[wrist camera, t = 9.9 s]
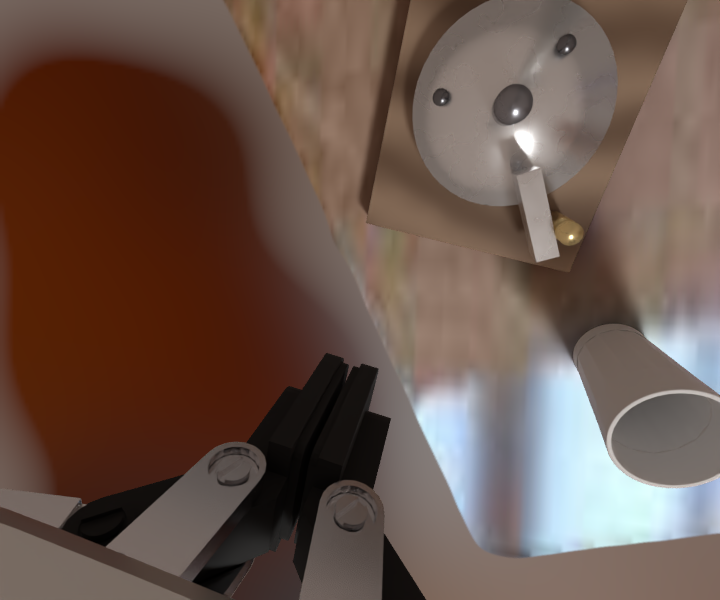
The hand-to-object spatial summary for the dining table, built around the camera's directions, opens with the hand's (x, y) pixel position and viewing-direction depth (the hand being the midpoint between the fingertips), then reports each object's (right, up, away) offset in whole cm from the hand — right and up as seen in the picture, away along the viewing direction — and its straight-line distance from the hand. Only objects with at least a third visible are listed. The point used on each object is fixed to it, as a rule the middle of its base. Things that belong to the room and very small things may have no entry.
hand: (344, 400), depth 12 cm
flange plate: (+12, +16, +18) cm, 27 cm away
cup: (+24, -2, +25) cm, 35 cm away
